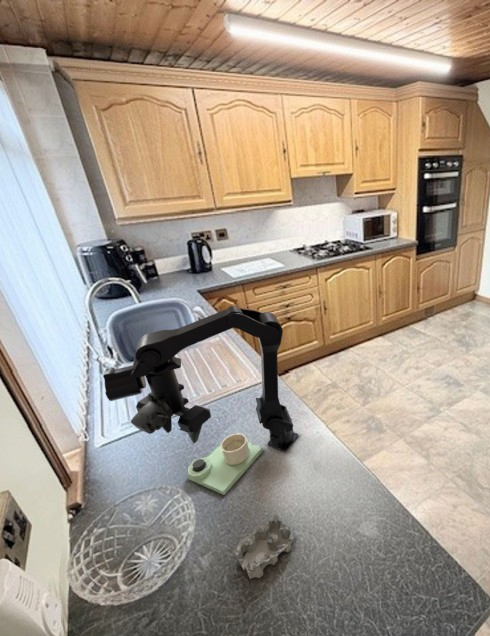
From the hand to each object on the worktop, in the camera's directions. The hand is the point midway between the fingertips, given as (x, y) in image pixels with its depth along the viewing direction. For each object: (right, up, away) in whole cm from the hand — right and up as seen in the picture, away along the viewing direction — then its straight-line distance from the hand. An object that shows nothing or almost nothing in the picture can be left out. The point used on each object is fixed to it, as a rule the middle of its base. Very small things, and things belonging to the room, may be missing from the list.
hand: (182, 436), depth 87 cm
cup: (+11, -8, +7) cm, 16 cm away
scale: (+9, -10, +7) cm, 15 cm away
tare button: (+3, -9, +3) cm, 10 cm away
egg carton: (+25, -19, -14) cm, 35 cm away
